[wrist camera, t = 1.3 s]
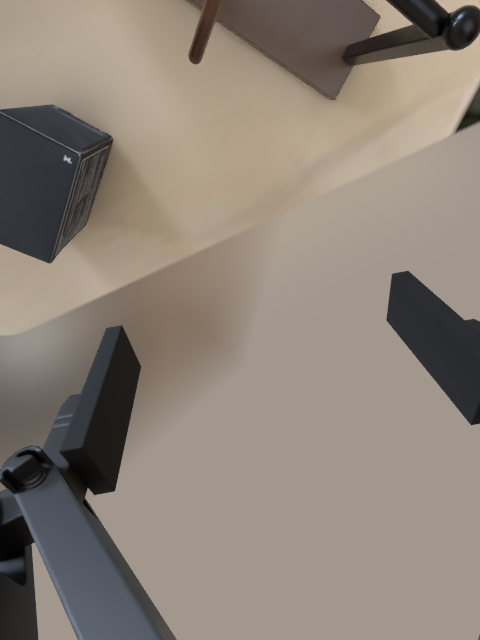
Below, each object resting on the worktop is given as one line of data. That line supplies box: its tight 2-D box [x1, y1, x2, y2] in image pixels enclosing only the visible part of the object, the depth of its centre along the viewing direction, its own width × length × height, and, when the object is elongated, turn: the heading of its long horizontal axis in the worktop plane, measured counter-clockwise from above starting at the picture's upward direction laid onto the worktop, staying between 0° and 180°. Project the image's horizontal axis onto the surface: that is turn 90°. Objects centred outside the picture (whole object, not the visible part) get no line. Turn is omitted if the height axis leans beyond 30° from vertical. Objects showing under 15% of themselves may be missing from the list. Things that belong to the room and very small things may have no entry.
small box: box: [0, 105, 113, 263], centre depth 31 cm, size 11×6×10 cm, turn 151°
